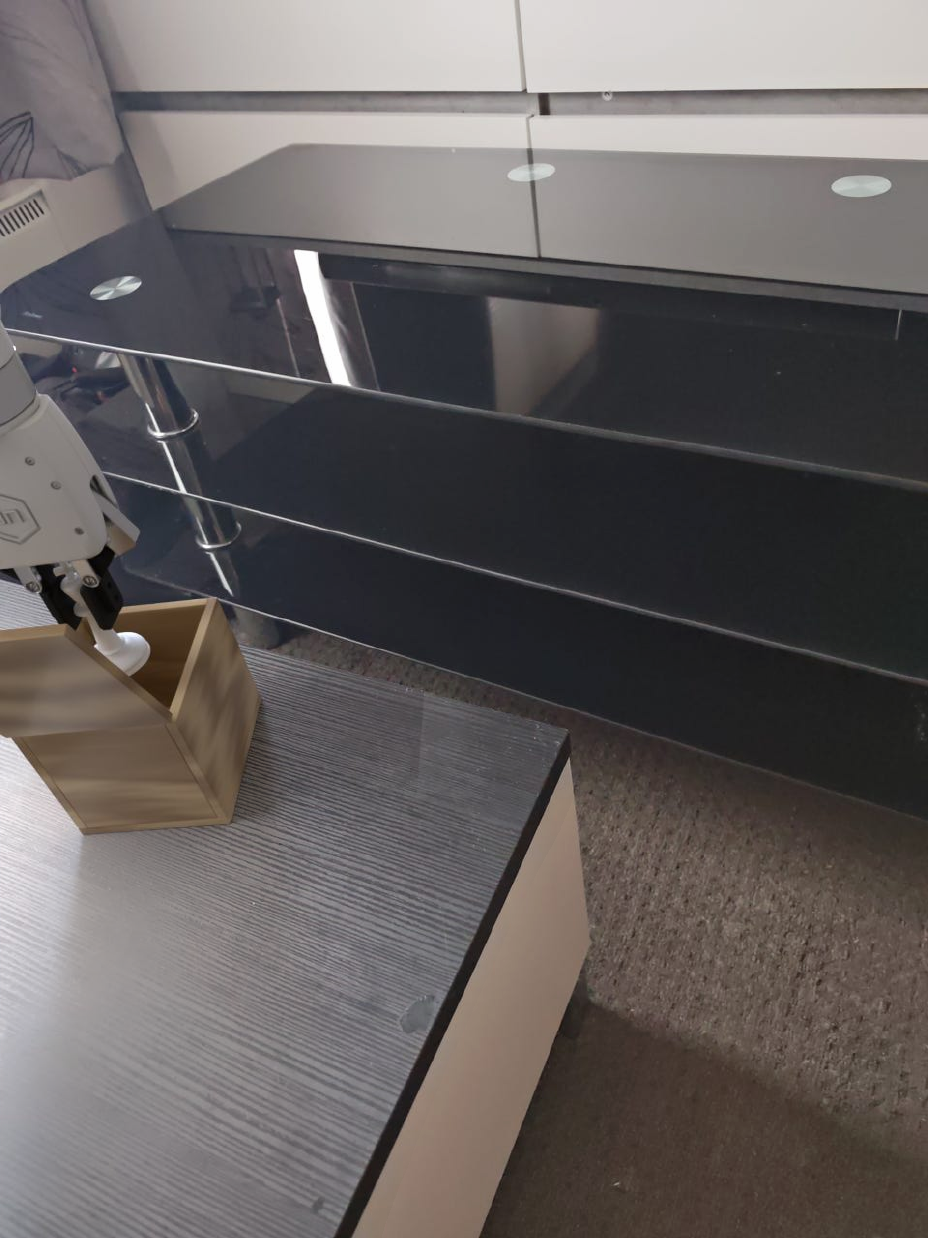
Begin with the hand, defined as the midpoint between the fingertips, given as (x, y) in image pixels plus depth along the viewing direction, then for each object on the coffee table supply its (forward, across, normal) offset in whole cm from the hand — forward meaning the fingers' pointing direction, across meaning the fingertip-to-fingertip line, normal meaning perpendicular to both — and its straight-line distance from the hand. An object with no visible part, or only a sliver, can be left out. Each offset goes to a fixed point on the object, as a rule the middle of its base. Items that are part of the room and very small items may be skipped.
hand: (94, 617), depth 68 cm
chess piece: (+5, 0, 0) cm, 5 cm away
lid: (-3, 0, -9) cm, 9 cm away
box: (+17, 0, 0) cm, 17 cm away
